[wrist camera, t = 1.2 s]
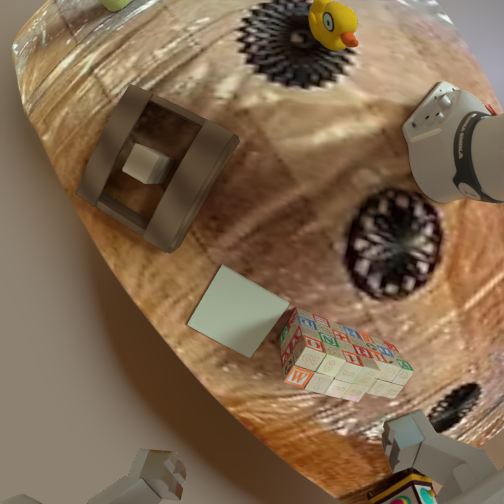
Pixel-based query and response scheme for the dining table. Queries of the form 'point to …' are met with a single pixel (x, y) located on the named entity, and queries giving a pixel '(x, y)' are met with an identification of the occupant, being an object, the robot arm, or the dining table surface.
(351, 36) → the duckling
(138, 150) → the maple block
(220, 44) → the dining table surface
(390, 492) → the decorative lantern
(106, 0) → the tube
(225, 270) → the zone pad
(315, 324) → the stack of blocks
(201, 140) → the access box
